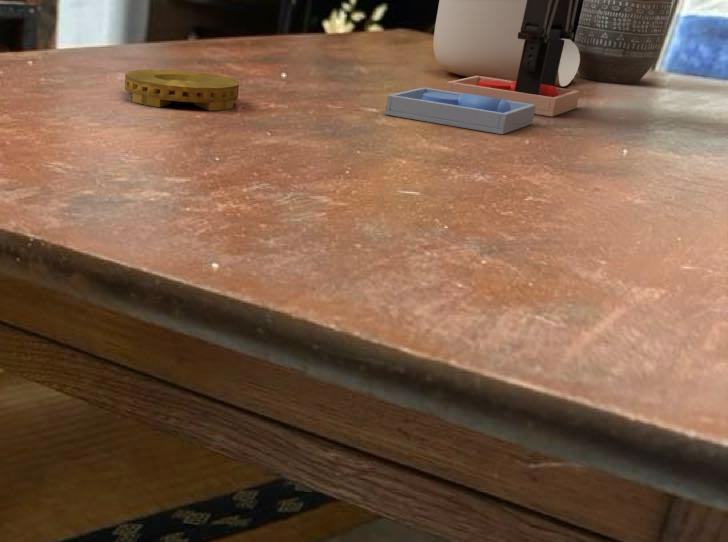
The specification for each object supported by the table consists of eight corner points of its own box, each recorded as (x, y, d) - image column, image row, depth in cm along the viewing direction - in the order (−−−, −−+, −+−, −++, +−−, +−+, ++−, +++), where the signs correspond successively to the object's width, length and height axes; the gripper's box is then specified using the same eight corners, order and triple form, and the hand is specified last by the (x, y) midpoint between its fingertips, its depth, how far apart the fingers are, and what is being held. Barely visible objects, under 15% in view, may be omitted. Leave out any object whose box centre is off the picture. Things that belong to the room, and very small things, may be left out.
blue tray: (532, 124, 121) (536, 104, 120) (502, 134, 114) (506, 114, 113) (419, 105, 127) (422, 87, 126) (384, 114, 119) (387, 94, 118)
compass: (230, 95, 123) (232, 74, 122) (243, 113, 113) (245, 91, 112) (123, 87, 122) (124, 66, 121) (125, 105, 112) (126, 82, 111)
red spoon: (560, 104, 133) (565, 85, 132) (550, 108, 130) (554, 88, 129) (482, 92, 137) (486, 73, 136) (470, 95, 134) (474, 76, 133)
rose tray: (576, 108, 135) (580, 90, 134) (552, 116, 127) (556, 98, 126) (472, 92, 141) (476, 75, 140) (444, 99, 133) (447, 81, 132)
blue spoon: (514, 120, 119) (518, 98, 118) (501, 124, 116) (505, 102, 115) (429, 106, 124) (432, 85, 123) (414, 110, 120) (417, 88, 119)
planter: (643, 88, 158) (668, -10, 152) (558, 76, 163) (579, -20, 157) (657, 81, 167) (682, -12, 161) (576, 70, 172) (597, -21, 166)
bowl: (447, 63, 167) (462, -24, 161) (577, 80, 160) (597, -10, 154) (410, 75, 151) (426, -21, 145) (553, 95, 144) (575, -5, 138)
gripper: (569, -122, 130) (525, 87, 141) (521, -133, 116) (476, 100, 127) (634, -118, 127) (584, 96, 138) (592, -128, 113) (540, 111, 124)
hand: (532, 98), depth 132 cm, fingers open, 5 cm apart
